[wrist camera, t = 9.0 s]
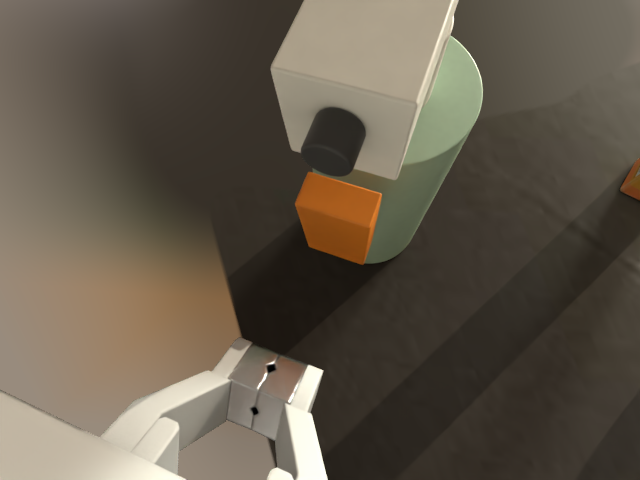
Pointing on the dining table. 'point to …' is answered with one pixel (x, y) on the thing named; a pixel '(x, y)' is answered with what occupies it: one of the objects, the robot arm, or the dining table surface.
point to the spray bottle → (379, 102)
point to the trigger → (338, 216)
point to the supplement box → (632, 182)
